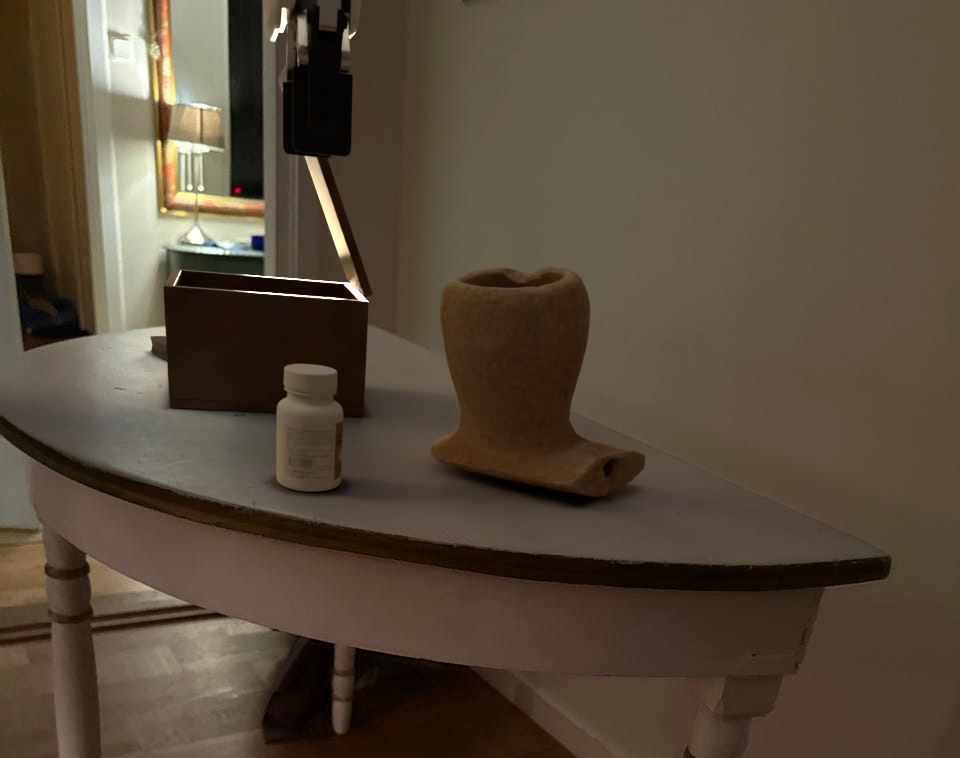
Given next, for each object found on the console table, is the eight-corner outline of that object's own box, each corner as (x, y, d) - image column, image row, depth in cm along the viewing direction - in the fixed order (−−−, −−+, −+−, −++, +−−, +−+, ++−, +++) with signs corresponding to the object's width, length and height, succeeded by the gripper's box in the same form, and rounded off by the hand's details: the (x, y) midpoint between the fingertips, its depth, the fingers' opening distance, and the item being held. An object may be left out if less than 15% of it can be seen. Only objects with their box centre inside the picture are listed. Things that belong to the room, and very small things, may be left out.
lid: (285, 65, 68) (347, 44, 69) (277, 79, 80) (331, 61, 80) (364, 297, 77) (419, 278, 77) (347, 279, 89) (395, 262, 89)
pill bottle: (352, 489, 62) (357, 375, 59) (293, 496, 60) (294, 376, 56) (323, 471, 65) (326, 361, 62) (265, 476, 63) (265, 362, 60)
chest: (169, 407, 77) (163, 285, 73) (177, 375, 89) (172, 268, 85) (363, 416, 82) (368, 301, 77) (347, 384, 93) (351, 283, 89)
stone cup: (394, 473, 67) (407, 253, 60) (475, 446, 76) (494, 253, 70) (580, 524, 61) (617, 285, 54) (644, 487, 70) (682, 280, 63)
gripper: (240, -174, 54) (248, 151, 62) (246, -302, 39) (255, 146, 47) (366, -149, 56) (358, 162, 64) (417, -264, 41) (398, 161, 49)
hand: (314, 155), depth 55 cm, fingers open, 9 cm apart
